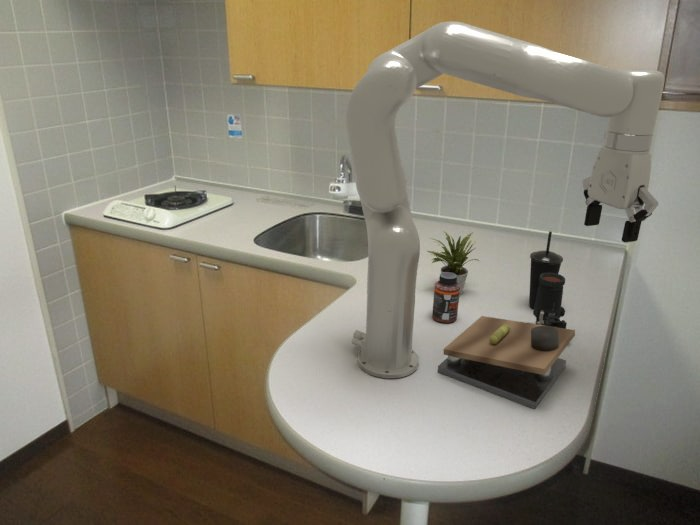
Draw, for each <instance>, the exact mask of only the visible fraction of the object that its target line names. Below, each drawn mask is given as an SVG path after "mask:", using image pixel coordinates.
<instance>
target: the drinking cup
mask: <svg viewBox="0 0 700 525" xmlns="http://www.w3.org/2000/svg"><path fill="white" fill-rule="evenodd" d="M551 240H552V231H548V236H547V241H546V243H547V244H546V248H545V250H537V251H533V252H531V253H530V255H529V257H530V258H529V259H530V272H529V274H530V275H529V297H528V298H529V299H528V300H529V301H528V307H529V308H530V309H531V310H533V311H534V304H535V302H536V297H537V292H538V287H539V283H540V281H539V277H540V275H541V274H542V273H556V274H559V272H560V268H561V265H562V263H563V262H564V258H563V256H562V255H560V254H558V253H556V252H553V251H551V250H550V247H551Z"/></svg>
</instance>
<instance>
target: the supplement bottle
mask: <svg viewBox="0 0 700 525" xmlns="http://www.w3.org/2000/svg"><path fill="white" fill-rule="evenodd" d="M438 278H439V279H438V280H437V281H436V282H435V284H434V291H433V303H432V318H433V320H435V321H437V322H439V323H443V324H449V323H453V322H455V321H456V320H457V318H458V312H459V310H458V309H459V300H460V295H459V294H460V285H459V284H458V283H457V275H456V274H454V273H451V272H443V273H441V272H440V274H439V277H438Z"/></svg>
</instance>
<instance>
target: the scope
mask: <svg viewBox="0 0 700 525" xmlns="http://www.w3.org/2000/svg"><path fill="white" fill-rule="evenodd" d="M539 281H540V283H539V287H538V292H537V297H536V302H535V304H534V310H533V316H534V317H535V324H538V325H545V326H551V327H558V328H564V329H567V322H566V321H565V320H564V319H562V320H561V318H563V317H564V316H565V314H566V309H565V308H564V306H562V303H563V302H562V301H563V294H564V285H566V284H565V283H566V278H565V276H563V275H562V274H559V273H558V274H556V273H542V274H541V275H540V277H539Z"/></svg>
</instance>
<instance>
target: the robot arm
mask: <svg viewBox="0 0 700 525" xmlns="http://www.w3.org/2000/svg"><path fill="white" fill-rule="evenodd" d="M444 74H445V75H447V76H451V77H454V78H458V79H460V80H464V81H468V82H472V83H474V84H479V85H482V86H485V87H489V88H492V89H494V90H499V91H502V92H505V93H509V94H512V95H516V96H519V97H523V98H527V99H535V100H539V101H543V102H547V103H552V104H555V105H558V106H562V107H565V108H569V109H572V110H575V111H578V112H583V113H585V114H589V115H592V116H596V117H599V118H608V123H607V127H606V128H607V129H606V132H604V134H603V136H604V138H605V140H604V145H602V146H600V148H599V150H598V152H597V155H596V158H595V161H594V164H593V167H592V171H591V173H590V177H586V178H584V179H582V188H583V195H584V198H585V202H584V203H585V205H586V206H587V207H586V213H585V218H584V223H583V225H584V226H585V227H592V226H598V225H600V220H601V216H602V210H603V205H607V206H609V207H613V208H614V209H615V208H616V209H618V210H624V211H625V214H626V216H627V218H628V220H626V221H625V222H624V226H623V231H622V236H621V242H623V243H634V242H636V241H638V240H639V239H638V238H639V235H640V230H641V226H642V222H645V221H646V219H647V218H650V216H652V215H653V212H654V211H655V210H656V208H658V206H659V202H658V200H657V199H656V198H655V197H654V196H653V195H652V194H651V192H650V191H649V185H650V178H651V172H652V171H651V169H652V154H651V153H650V151H651V146H652V141H653V137H654V132H655V129H656V128H655V127H656V123H657V120H658V119H657V118H658V114H659V108H660V104H661V100H662V96H663V92H664V86H665V75H664V73H663V72H662V71H659V70H653V69H637V68H635V69H634V68H633V69H631V68H629V69H624V70H618V69H615V68H611V67H610V66H606V65H601V64H598V63H595V62H592V61H588V60H585V59H581V58H578V57H574V56H571V55H567V54H565V53H562V52H561V53H560V52H558V51H555V50H552V49H549V48H546V47H544V46H542V45H538V44H536V43H532V42H529V41H526V40H522V39H519V38H514V37H512V36H508V35H506V34H502V33H499V32H495V31H493V30H488V29H485V28H482V27H479V26H474V25H472V24H469V23H466V22H462V21H454V20H450V21H441V22H438V23H436V24H434V25H433V26H430V27H429V28H427V29H426V30H424V31H422V32H421V33H418V34H417V35H415V36H413V37H411V38H410V39H408V40H405V41H404V42H402V43H400V44H398V45H396V46H395V47H393V48H391V49H389V50H388V51H386V52H383V53H381V54H379V55H378V56H377V57H375V58H374V59H373V60H372V61H371V62H370V64H369V65H368V67H367V70H366V73H365V74H364V75H363V76H362V77H361V79H359V80H358V82H357V83H356V85H355V86H354V87H353V89H352V91H351V94H350V97H349V99H348V102H347V105H346V112H345V126H346V134H347V139H348V144H349V149H350V156H351V161H352V164H353V165H352V166H353V170H354V173H355V176H354V178H355V186H356V191H357V194H358V196H359V200H360V203H361V208H362V213H363V218H364V221H365V222H364V223H365V226H366V232H367V243H368V245H367V246H368V247H367V248H368V252H367V253H368V254H367V256H368V257H367V260H368V261H367V278H366V279H367V283H366V316H365V317H366V318H365V319H366V320H365V321H366V322H365V332H364V331H361V330H359V329H357V330H355V331H354V332H353V335H352V339H351V344H353V345H355V346H358V347H360V350H359V352H358V354H357V362H358V366H359V368H360V369H361V370H363V371H364V372H365V373H367V374H369V375H371V376H374V377H378V378H383V379H399V378H405V377H406V376H410V375H411V374H413V373H414V372H415V371H417V369H418V367H419V362H420V359H419V356H418V354H417V353H416V351H415V350H414V349H413V340H414V339H413V337H414V323H415V321H414V319H415V309H416V308H415V306H416V287H417V275H418V268H419V262H420V254H421V241H420V236H419V235H420V234H419V232H418V228H417V227H416V225H415V222H414V219H413V216H412V212H411V211H412V210H411V207H410V202H409V197H408V192H407V189H408V183H407V182H408V181H407V175H406V173H405V172H406V171H404V168H403V164H402V160H401V156H400V151H399V146H398V137H397V133H396V124H395V123H396V117H397V114H398V112H399V111H400V109H401V107H403V106H404V105H405V104H406V103H407V102H408V101H409V100H411V99H412V97H413V96H414V94H415V92H416V90H417V89H419V88H420V87H422V86H424V85H426V84H428V83H430V82H431V81H433V80H435V79H438V78H439V77H440V76H442V75H444Z"/></svg>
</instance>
